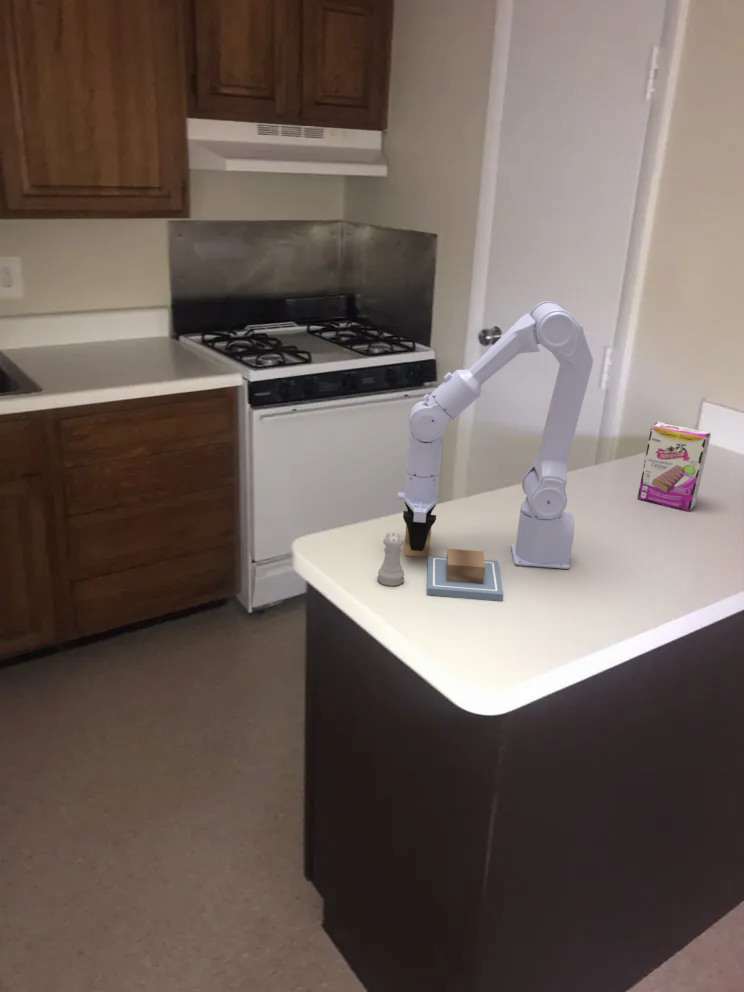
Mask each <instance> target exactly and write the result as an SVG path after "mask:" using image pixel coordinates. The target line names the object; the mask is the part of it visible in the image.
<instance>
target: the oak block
mask: <svg viewBox="0 0 744 992" xmlns="http://www.w3.org/2000/svg"><path fill="white" fill-rule="evenodd" d="M405 525H406V524H405ZM431 538H432V528H431V529H430V531H429V533H428V536H427V540H426V543H425V547H424V549H423V551H414V550H411V547H410V540H409V532H408V528H407V525H406V526H405V534H404V549H403V550H404V552H403V556H405V557H416V556H417V557H418V558H428V556H430V551H431V550H430V549H431V540H432V539H431Z"/></svg>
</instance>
